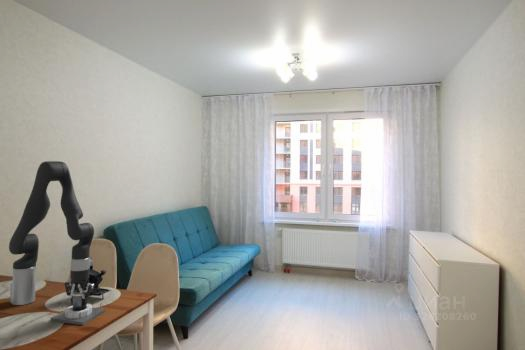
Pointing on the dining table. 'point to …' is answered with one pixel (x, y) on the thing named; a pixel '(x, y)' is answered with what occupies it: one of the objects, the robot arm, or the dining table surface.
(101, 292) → the vintage camera
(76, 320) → the mount
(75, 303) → the lens
